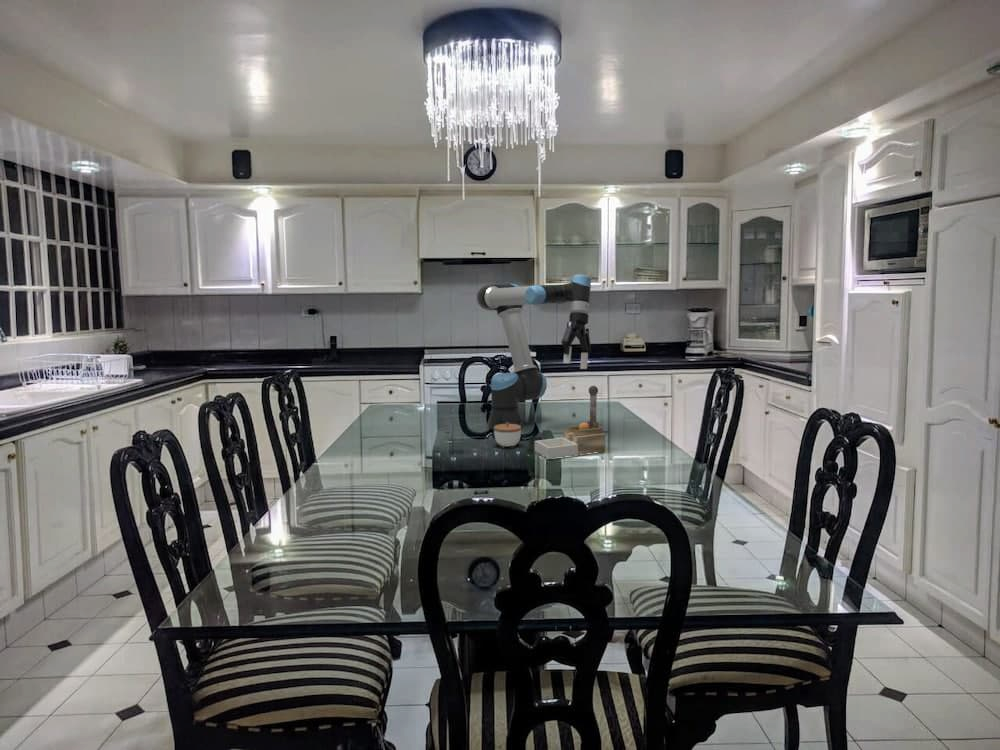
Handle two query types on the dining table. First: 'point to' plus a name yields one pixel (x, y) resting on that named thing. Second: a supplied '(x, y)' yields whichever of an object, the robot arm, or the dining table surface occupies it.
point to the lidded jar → (507, 434)
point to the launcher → (586, 439)
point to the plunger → (593, 407)
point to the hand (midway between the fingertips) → (575, 366)
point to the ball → (583, 426)
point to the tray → (556, 447)
